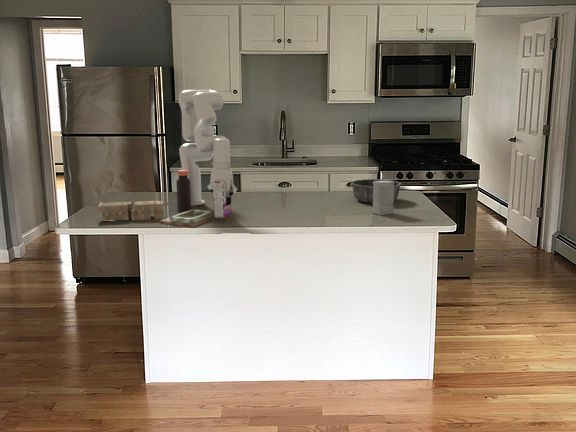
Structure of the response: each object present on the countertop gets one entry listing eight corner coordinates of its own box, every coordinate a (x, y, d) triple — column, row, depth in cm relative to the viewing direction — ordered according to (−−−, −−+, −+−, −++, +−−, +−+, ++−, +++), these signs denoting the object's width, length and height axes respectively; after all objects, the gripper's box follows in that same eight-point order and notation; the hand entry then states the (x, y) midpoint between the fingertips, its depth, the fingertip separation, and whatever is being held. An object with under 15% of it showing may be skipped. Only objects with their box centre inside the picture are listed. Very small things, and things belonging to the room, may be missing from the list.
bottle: (185, 212, 307) (183, 172, 302) (174, 210, 310) (172, 170, 306) (194, 209, 312) (192, 170, 308) (183, 208, 316) (182, 169, 312)
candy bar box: (221, 211, 294) (220, 177, 290) (231, 212, 293) (230, 177, 289) (213, 217, 284) (212, 181, 280) (224, 218, 283) (223, 182, 279)
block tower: (163, 217, 301) (100, 218, 295) (163, 200, 299) (99, 201, 293) (163, 221, 293) (98, 222, 287) (163, 203, 291) (98, 204, 285)
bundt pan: (370, 194, 352) (371, 176, 350) (410, 200, 334) (411, 182, 331) (340, 201, 334) (340, 182, 331) (380, 208, 315) (381, 188, 313)
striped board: (159, 223, 284) (159, 216, 283) (185, 214, 302) (184, 208, 301) (193, 227, 277) (192, 219, 276) (217, 217, 294) (216, 211, 293)
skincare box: (380, 215, 298) (381, 182, 294) (371, 212, 304) (372, 180, 300) (394, 213, 301) (395, 181, 298) (385, 211, 308) (386, 179, 304)
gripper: (201, 165, 283) (202, 204, 287) (234, 168, 276) (234, 208, 280) (210, 162, 290) (210, 200, 294) (242, 165, 282) (242, 204, 287)
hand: (222, 203), depth 287 cm, fingers closed on candy bar box, 5 cm apart
